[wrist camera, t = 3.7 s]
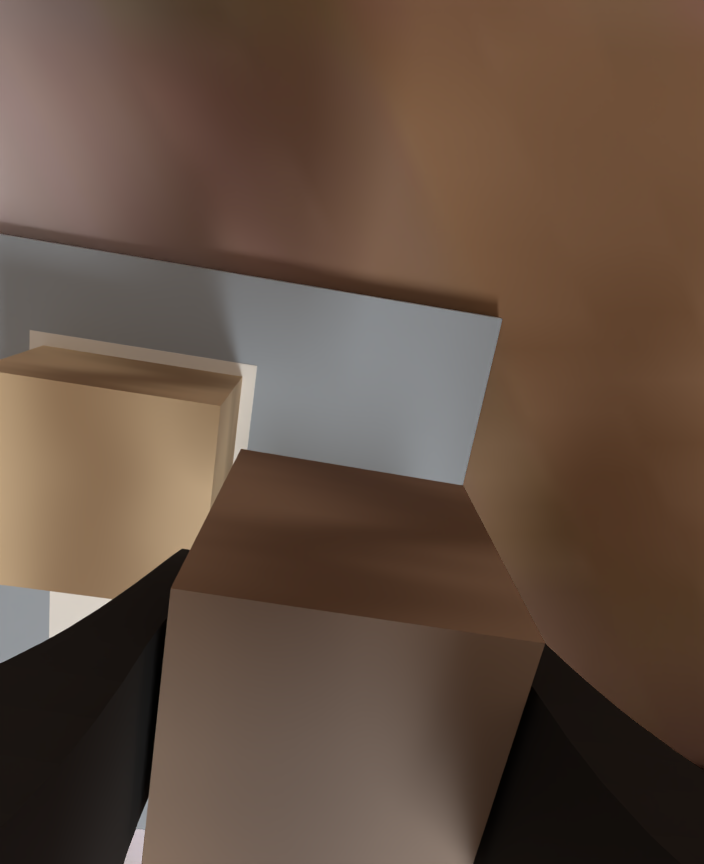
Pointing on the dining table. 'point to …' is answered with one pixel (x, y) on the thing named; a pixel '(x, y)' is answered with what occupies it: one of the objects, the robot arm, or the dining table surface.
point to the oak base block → (106, 466)
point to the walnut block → (336, 673)
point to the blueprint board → (254, 369)
